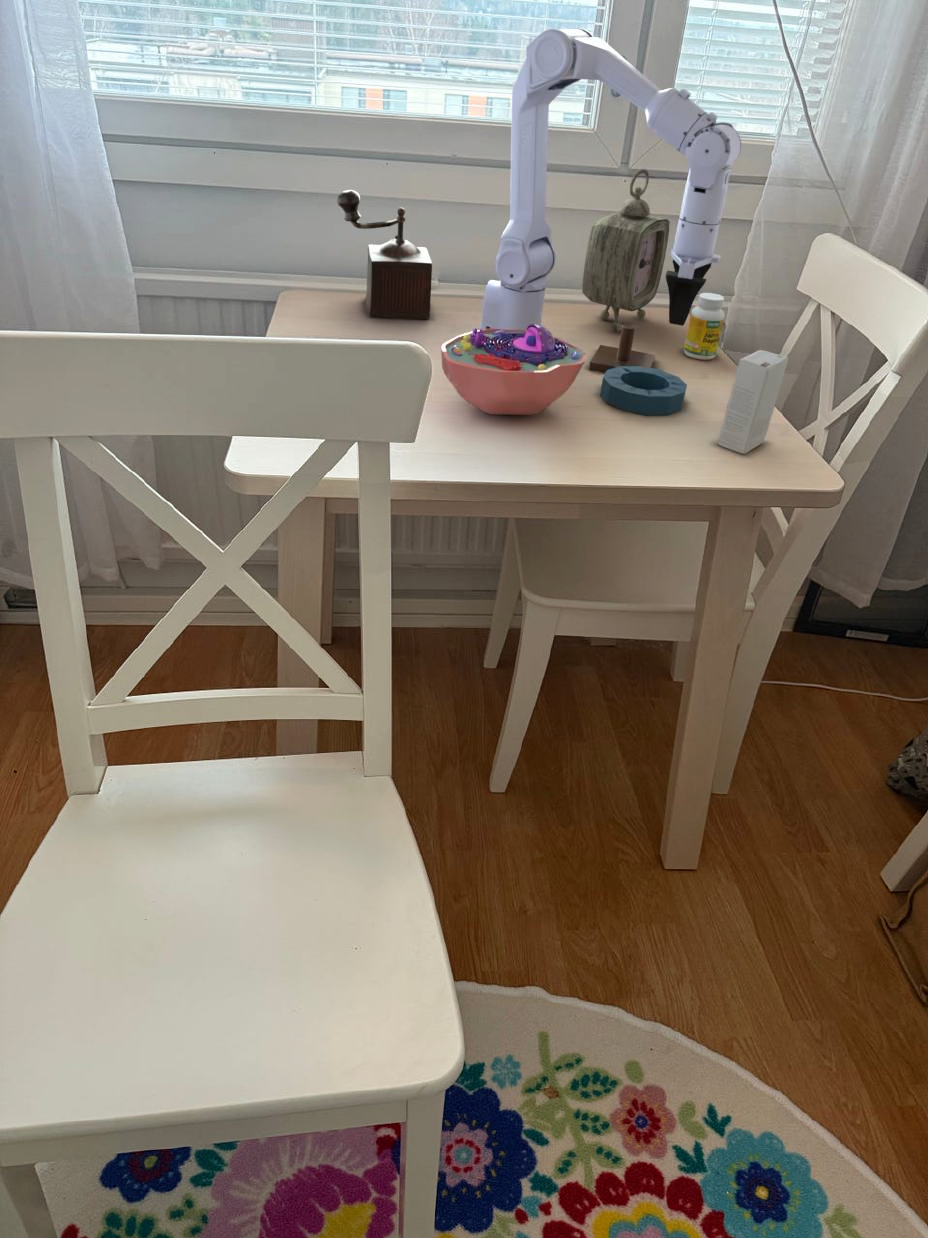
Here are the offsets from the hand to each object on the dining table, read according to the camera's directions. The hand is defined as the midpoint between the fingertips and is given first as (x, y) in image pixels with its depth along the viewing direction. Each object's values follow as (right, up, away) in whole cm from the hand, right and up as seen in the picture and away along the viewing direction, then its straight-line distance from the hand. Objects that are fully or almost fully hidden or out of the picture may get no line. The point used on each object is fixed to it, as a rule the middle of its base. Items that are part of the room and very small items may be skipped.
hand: (679, 316), depth 144 cm
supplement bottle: (+7, -1, +17) cm, 18 cm away
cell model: (-26, -16, -9) cm, 32 cm away
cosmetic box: (+5, -21, -13) cm, 26 cm away
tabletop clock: (-5, +8, +28) cm, 29 cm away
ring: (-6, -13, -2) cm, 14 cm away
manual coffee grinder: (-46, +9, +23) cm, 52 cm away
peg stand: (-7, -5, +9) cm, 12 cm away
